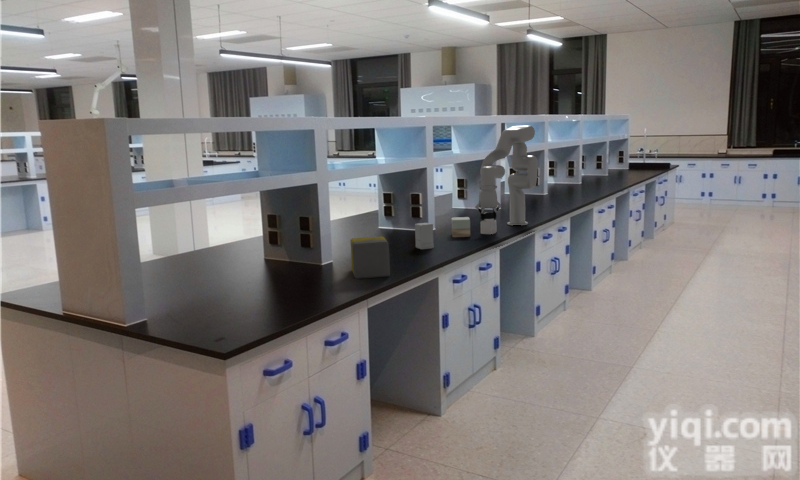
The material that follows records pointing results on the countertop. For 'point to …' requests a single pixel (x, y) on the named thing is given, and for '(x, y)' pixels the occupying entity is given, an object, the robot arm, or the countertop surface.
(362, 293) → the countertop surface
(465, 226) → the tower top block
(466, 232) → the tower base block
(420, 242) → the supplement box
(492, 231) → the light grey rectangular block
